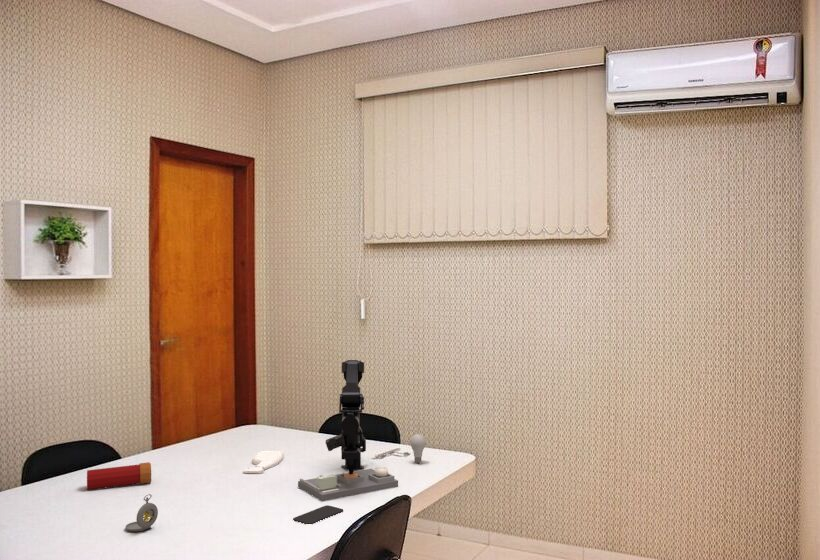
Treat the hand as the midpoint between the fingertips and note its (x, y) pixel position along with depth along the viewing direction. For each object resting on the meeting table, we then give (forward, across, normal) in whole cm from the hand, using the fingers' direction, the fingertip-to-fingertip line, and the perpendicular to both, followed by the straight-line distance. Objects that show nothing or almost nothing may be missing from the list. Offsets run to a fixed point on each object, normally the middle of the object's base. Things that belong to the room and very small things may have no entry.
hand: (350, 474), depth 227 cm
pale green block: (+2, +8, -8) cm, 12 cm away
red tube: (+5, -7, -78) cm, 78 cm away
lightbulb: (+4, -28, +26) cm, 38 cm away
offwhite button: (0, 0, +10) cm, 10 cm away
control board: (+4, 0, -1) cm, 4 cm away
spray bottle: (+5, -30, -33) cm, 45 cm away
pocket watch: (+4, +36, -58) cm, 68 cm away
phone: (+5, +28, -10) cm, 30 cm away
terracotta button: (+2, 0, 0) cm, 2 cm away
